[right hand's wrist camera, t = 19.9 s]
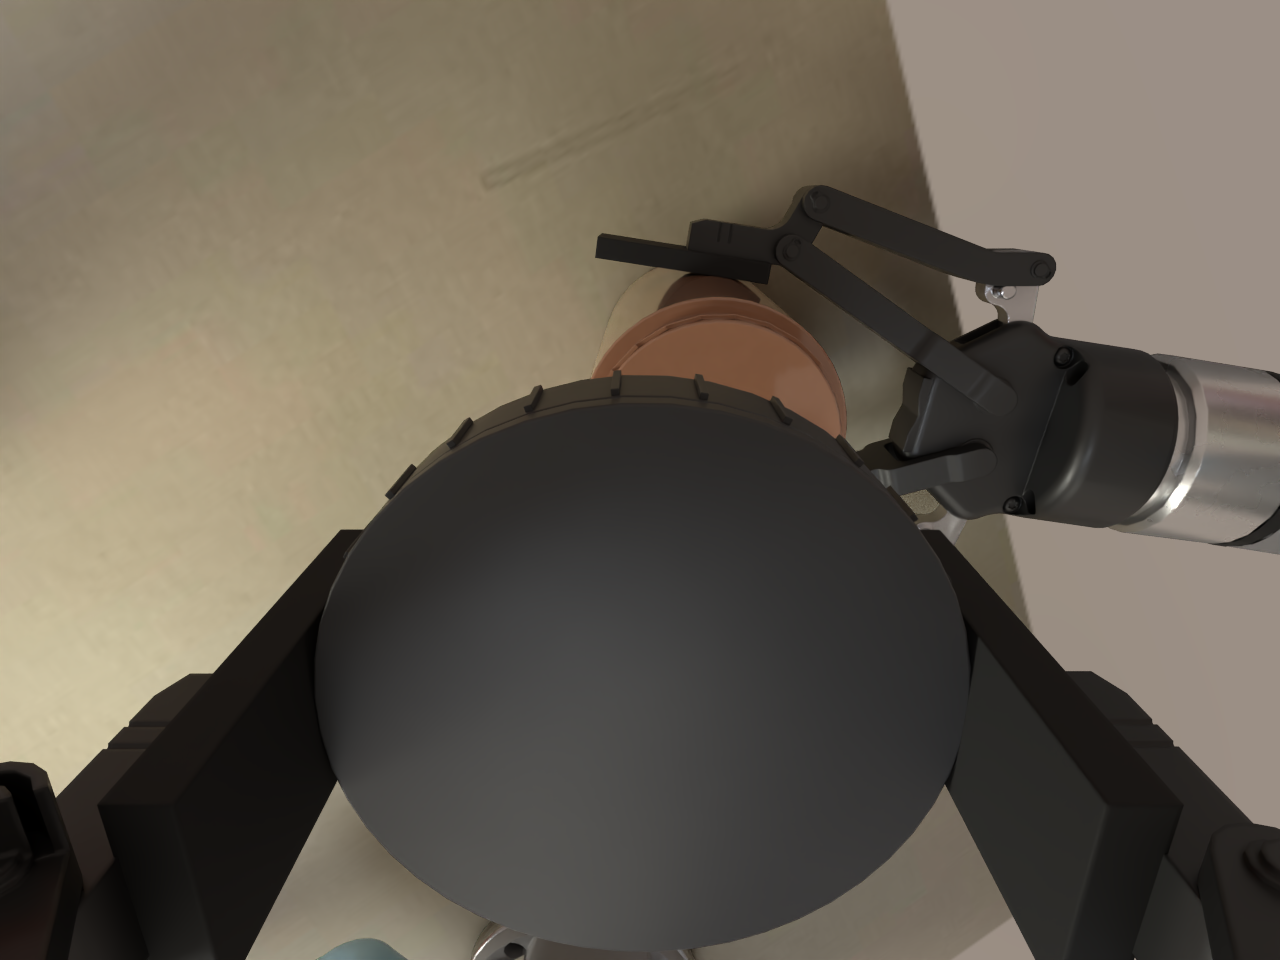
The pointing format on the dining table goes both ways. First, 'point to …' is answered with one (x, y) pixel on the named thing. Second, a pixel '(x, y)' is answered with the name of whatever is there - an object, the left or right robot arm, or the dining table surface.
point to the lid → (642, 666)
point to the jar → (721, 343)
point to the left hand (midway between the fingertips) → (584, 361)
